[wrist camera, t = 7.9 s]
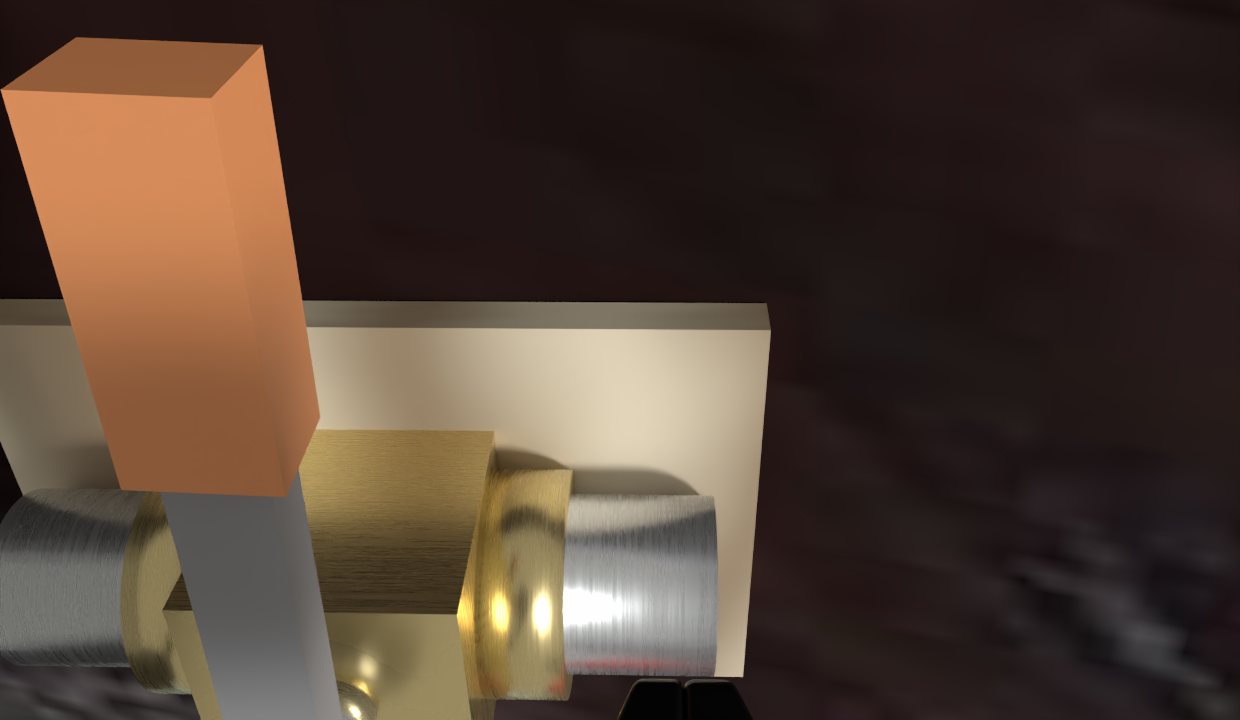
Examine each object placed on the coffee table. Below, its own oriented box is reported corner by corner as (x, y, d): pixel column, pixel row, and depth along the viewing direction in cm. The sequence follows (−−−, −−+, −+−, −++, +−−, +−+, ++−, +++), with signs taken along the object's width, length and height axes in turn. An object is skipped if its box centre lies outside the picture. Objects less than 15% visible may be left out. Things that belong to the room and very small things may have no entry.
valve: (116, 580, 26) (-28, 832, 20) (52, 412, 23) (-136, 652, 17) (704, 588, 25) (717, 848, 20) (712, 418, 22) (729, 666, 17)
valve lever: (398, 809, 19) (379, 896, 18) (253, 802, 19) (224, 889, 18) (290, 46, 11) (242, 99, 10) (48, 36, 12) (-32, 88, 10)
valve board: (112, 635, 27) (95, 666, 27) (-23, 299, 22) (-50, 324, 21) (740, 644, 27) (742, 676, 26) (766, 303, 21) (770, 330, 21)
